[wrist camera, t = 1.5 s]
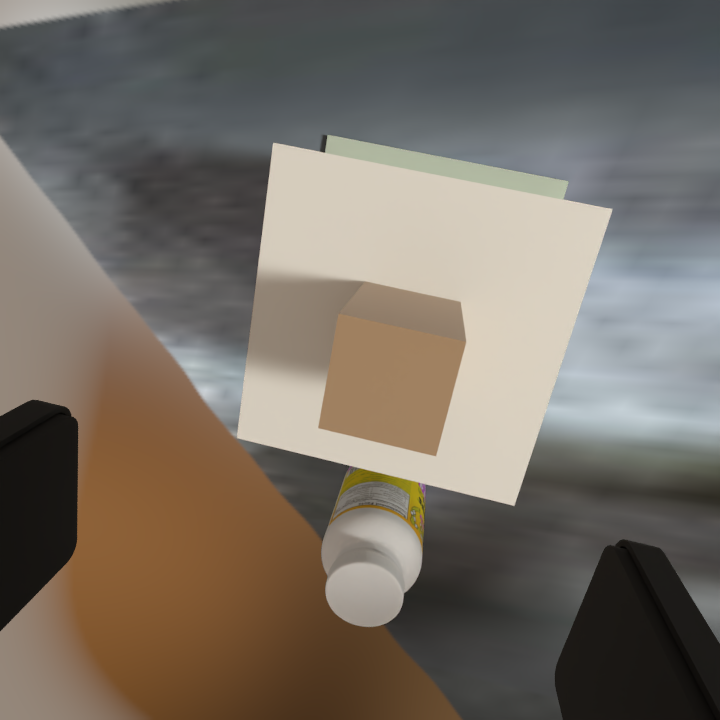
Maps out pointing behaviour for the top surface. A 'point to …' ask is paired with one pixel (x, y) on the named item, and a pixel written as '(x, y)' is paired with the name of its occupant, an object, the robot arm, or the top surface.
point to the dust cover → (411, 319)
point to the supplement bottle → (373, 546)
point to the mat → (446, 167)
